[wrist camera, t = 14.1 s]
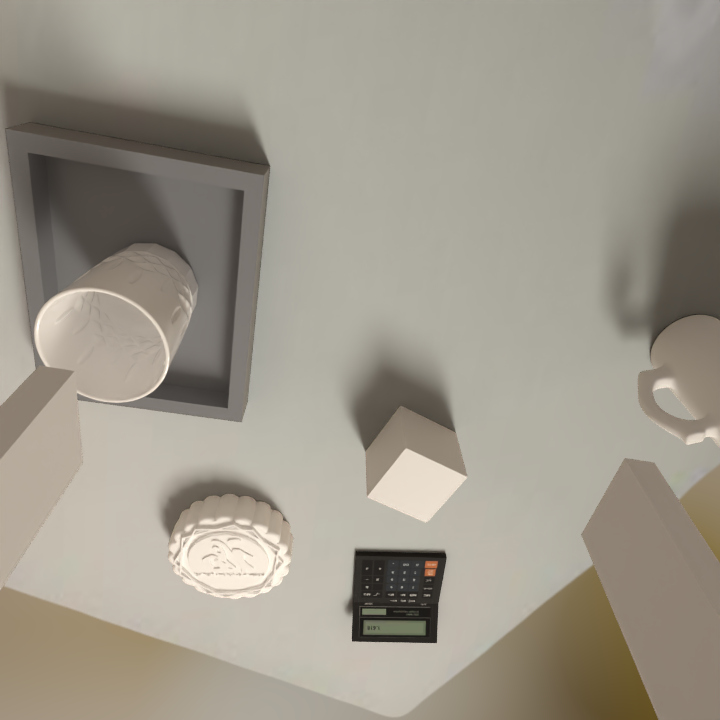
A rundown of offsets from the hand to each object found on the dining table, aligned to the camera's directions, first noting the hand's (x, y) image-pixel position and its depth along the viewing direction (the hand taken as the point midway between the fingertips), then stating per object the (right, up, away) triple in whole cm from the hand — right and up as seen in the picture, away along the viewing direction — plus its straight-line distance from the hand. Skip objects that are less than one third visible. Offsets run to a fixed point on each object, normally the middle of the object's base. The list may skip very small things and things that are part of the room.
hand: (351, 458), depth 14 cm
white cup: (-15, +8, +29) cm, 34 cm away
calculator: (+4, -23, +48) cm, 53 cm away
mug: (+26, +3, +33) cm, 42 cm away
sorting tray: (-16, +8, +29) cm, 34 cm away
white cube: (+5, -5, +38) cm, 38 cm away
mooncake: (-13, -16, +44) cm, 48 cm away
